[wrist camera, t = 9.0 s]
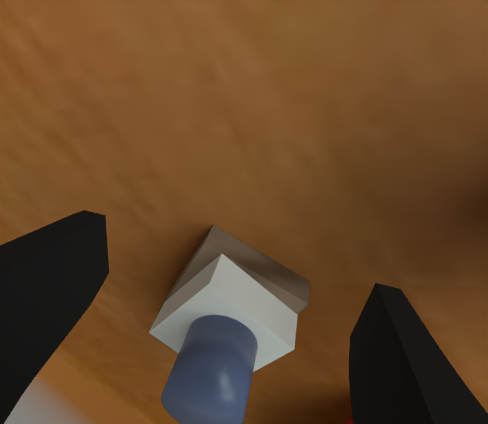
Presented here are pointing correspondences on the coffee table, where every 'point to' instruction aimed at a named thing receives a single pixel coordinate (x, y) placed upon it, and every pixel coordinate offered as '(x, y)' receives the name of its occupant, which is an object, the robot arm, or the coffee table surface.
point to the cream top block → (228, 310)
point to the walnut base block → (247, 269)
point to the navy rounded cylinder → (212, 373)
